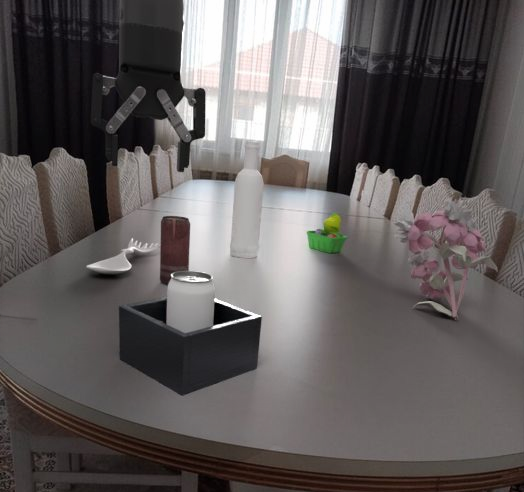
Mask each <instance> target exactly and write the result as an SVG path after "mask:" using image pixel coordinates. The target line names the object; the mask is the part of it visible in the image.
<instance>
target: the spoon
mask: <svg viewBox="0 0 524 492" xmlns="http://www.w3.org/2000/svg"><path fill="white" fill-rule="evenodd" d="M141 245H142V241H140V242H138V240H135V241H134V238H133V237H131V239H129V242H128V245H127V248H123V249H122V248H121V250H120V253H119V254H117V255H115V256H112V257H109V258H107V259H103V260H99V261H97V262H94V263H90V264H87V265H86V267H85V268H87V269H88V270H90V271H92V272H94V273H97V274H102V275H118V274H119V275H120V274H123V273H125V272H128V271H129V270H130V269H131V268H132V264H131V263H130V262H129V260H128V258H127V257H126V255H131V254H135V255H147V254H151V253H153V252H154V251H157V249H159V248H160V246H161V241H160V242H159V243H158V242H156V243H153V242H152V243H150V245H149V246H148V243H147V242H146V243H144V244H143V245H142V246H141Z"/></svg>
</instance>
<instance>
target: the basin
mask: <svg viewBox="0 0 524 492" xmlns="http://www.w3.org/2000/svg"><path fill="white" fill-rule="evenodd" d="M262 320H263V316H261V315H259V314H256V313H253V312H251V311H249V310H246V309H243V308H241V307H238V306H235V305H233V304H230V303H228V302H226V301H222V300H220V299H217V298H215V300H214V318H213V326H211V327H207V328H203V329H200V330H196V331H192V332H188V333H184V332H182V331H179V330H177V329H175V328H173V327H171V326H169V325H167V324H166V322H167V296H166V297H160V298H156V299H151V300H149V299H148V300H144V301H139V302H133V303H128V304H122V305H118V332H119V333H118V335H119V336H118V337H119V360H120V361H122V362H124V363H125V364H127V365H129V366H131V367H132V368H134V369H136V370H137V371H139V372H141V373H143V374H145V375H146V376H148V377H150V378H151V379H153V380H155V381H156V382H158V383H160V384H161V385H163V386H165V387H167V388H168V389H170V390H172V391H174V392H175V393H177V394H179V395H181V396H185V395H187V394H190V393H193V392H195V391H198V390H200V389H203V388H206V387H209V386H212V385H214V384H217V383H221V382H224V381H226V380H229V379H231V378H234V377H237V376H239V375H242V374H245V373H248V372H250V371H253V370H255V369H258V362H259V351H260V341H261V329H262V322H263V321H262Z"/></svg>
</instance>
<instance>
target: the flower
mask: <svg viewBox="0 0 524 492" xmlns="http://www.w3.org/2000/svg"><path fill="white" fill-rule="evenodd" d="M463 198H464V199H461V200H460V199H456V198H455V199H454V200H453V198H452V196H450V197H448V198H447V199H445V201H444V203H443V206H444V208H445V210H436V211H435V212H434V213H433V214H432V215H431V213H430V212H422V213H421V214H419V215H417V217H416V218H415V217H414V213H413V212H411V211H405V212H402V215H403V217H401V219H400V218H398V220H397V221H392V223H393V225H395V227H398V228H396V230H397V231H396V232H395V234H394V238H396V239H399V240H398V241H399V242H400V243H403V244H406V243H407V244H408V250H409V251H410V253H412V255H410V257H407V260H408V263H409V265H412V266H415V267H414V268H413V269H412V270H411V272H410V278H411V279H413V280H416V279H418V280H422V281H423V282H420V283H419V286H418V287H419V291H420V293H421V294H423V295H426V296H425V298H429V299H431V301H430V300H429V301H420V302H419V301H418V302H417V303H415V304H414V305H413V307H412V309H414V308H416V307H418V306H421V307H423V306H425V307H428V308H432V309H434V310H435V311H437V313H441V314H446V315H448V316H449V317H451V318H453V319H454V320H455V321H457V322H458V323H459V321H460V320H459V316H458V311H459V308H460V306H461V303H462V300H463V298H464V295H465V292H466V287H467V280H468V281H469V278H468V270H469V268H470V269H473V268H476V267H477V266H478V265H485V266H487V267H488V268H489V269H491V270H495V272H496V273H498V272H499V271H498V266H497V265H496V264H495V263H494V261H493V260H492V259H491V257H490V256H480V255H478V254H477V253H481V252H484V251H486V243H485V242H484V241H483V236H482V233H481V232H480V231H479V230H477V228H478V227H479V224H478V222H479V221H478V220H479V215H477V216H476V217H475V218H474V219H473V217H474V215H472V212H473V208H471V207H468V205H467V204H465V202H466V200H467V198H466V195H465V196H464V197H463ZM464 204H465V205H464ZM467 207H468V208H467ZM444 227H445V228H444ZM442 228H444V230H443V232H442V236H441V240H440V242H439V241H438V240H437V239H436V238H435V237H434V236H433V235H432V234H430V233H428V231H430V232H432V233H433V232H436V231H438V230H440V229H442ZM445 241H446V242H445ZM444 242H445V243H444ZM433 244H436V246H437V248H438V252H439V254H440V255H441V258H442V260H443V265H444V269H445V271H444V270H439V269H438V268H440V263H439V261H438V260H437V259H429V257H430V252H429V251H428V249H430V248H431V247H432V246H433ZM421 250H423V251H421ZM450 257H452V258H451V261H450V259H449V258H450ZM428 259H429V260H428ZM450 262H451V264H450ZM451 266H452V267H453V268H455V269H456V270H463V273H462V274H461V273H458V272H454V271H452V270H451ZM437 270H438V271H437ZM458 281H461V284H460V291H459V296H458V299H457V302H456V295H455V287H454V283H455V282H458ZM443 295H444V296H445V298H446V300H447V302H448V304H449V307H450V309H451V310H450V309H447V308H446V307H444V305H442V304H439V303H438V302H435V301H436V300H441V299H442V298H443Z"/></svg>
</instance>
